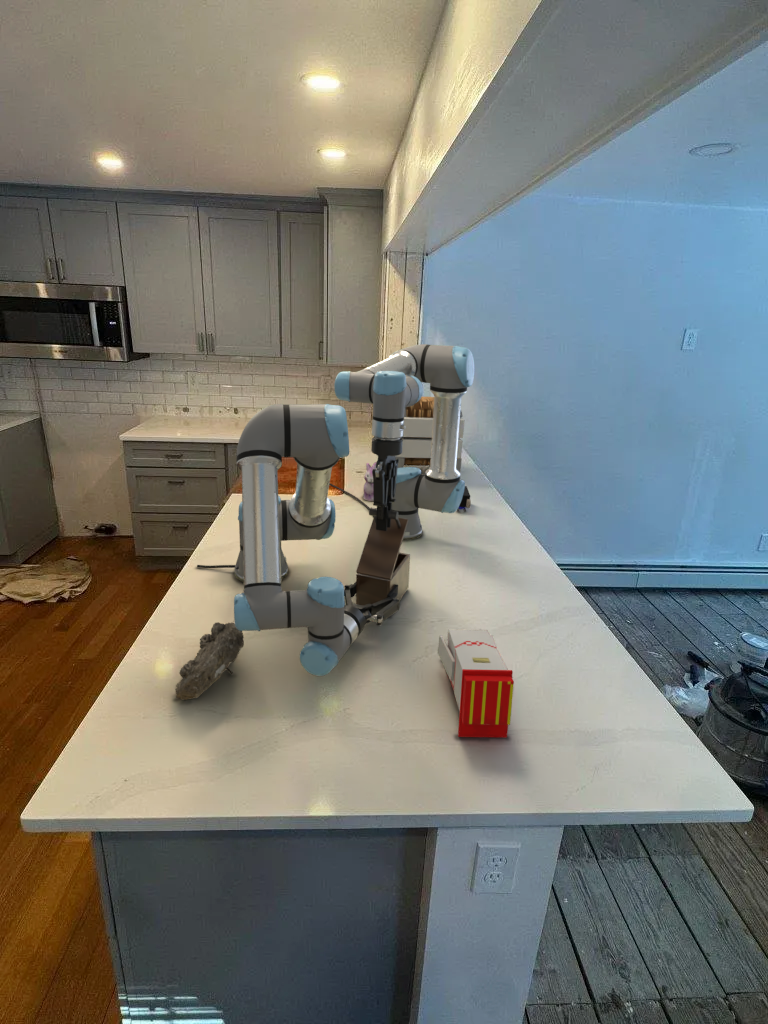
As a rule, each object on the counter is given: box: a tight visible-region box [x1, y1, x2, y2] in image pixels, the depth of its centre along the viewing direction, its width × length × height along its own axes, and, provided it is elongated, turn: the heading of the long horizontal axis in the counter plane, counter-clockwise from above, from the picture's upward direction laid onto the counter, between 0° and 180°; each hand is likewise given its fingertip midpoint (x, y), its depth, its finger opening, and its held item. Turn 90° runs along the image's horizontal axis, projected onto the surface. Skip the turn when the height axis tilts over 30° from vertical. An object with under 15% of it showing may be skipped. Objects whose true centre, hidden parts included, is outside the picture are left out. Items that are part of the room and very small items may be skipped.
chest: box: [355, 551, 411, 605], centre depth 153 cm, size 17×9×10 cm, turn 160°
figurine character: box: [456, 485, 472, 513], centre depth 228 cm, size 7×8×15 cm
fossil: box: [174, 621, 245, 701], centre depth 119 cm, size 22×10×15 cm
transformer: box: [395, 396, 465, 475], centre depth 268 cm, size 34×33×41 cm
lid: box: [355, 506, 408, 580], centre depth 144 cm, size 17×9×8 cm
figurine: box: [362, 461, 377, 502], centre depth 233 cm, size 9×10×15 cm
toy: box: [437, 628, 515, 738], centre depth 117 cm, size 12×13×30 cm
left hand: (378, 585), depth 149 cm, fingers closed on chest, 9 cm apart
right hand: (383, 527), depth 145 cm, fingers closed on lid, 2 cm apart
